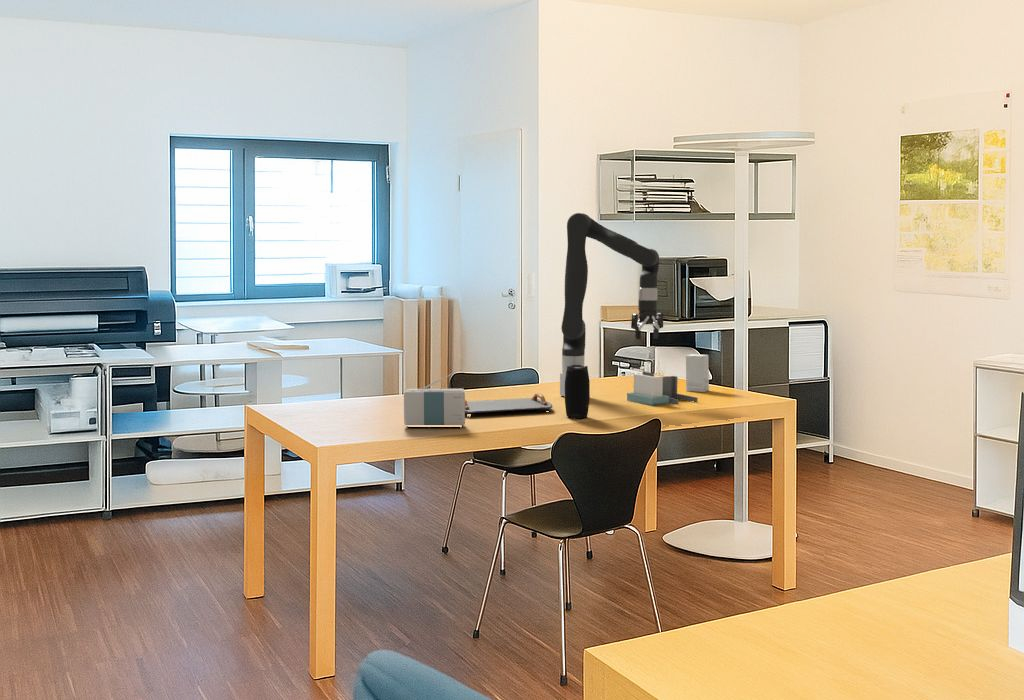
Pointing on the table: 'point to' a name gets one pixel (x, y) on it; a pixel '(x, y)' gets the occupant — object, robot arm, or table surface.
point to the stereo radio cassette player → (434, 406)
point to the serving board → (507, 405)
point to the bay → (674, 390)
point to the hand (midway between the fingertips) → (646, 339)
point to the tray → (648, 399)
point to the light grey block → (648, 385)
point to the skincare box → (697, 373)
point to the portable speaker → (577, 391)
